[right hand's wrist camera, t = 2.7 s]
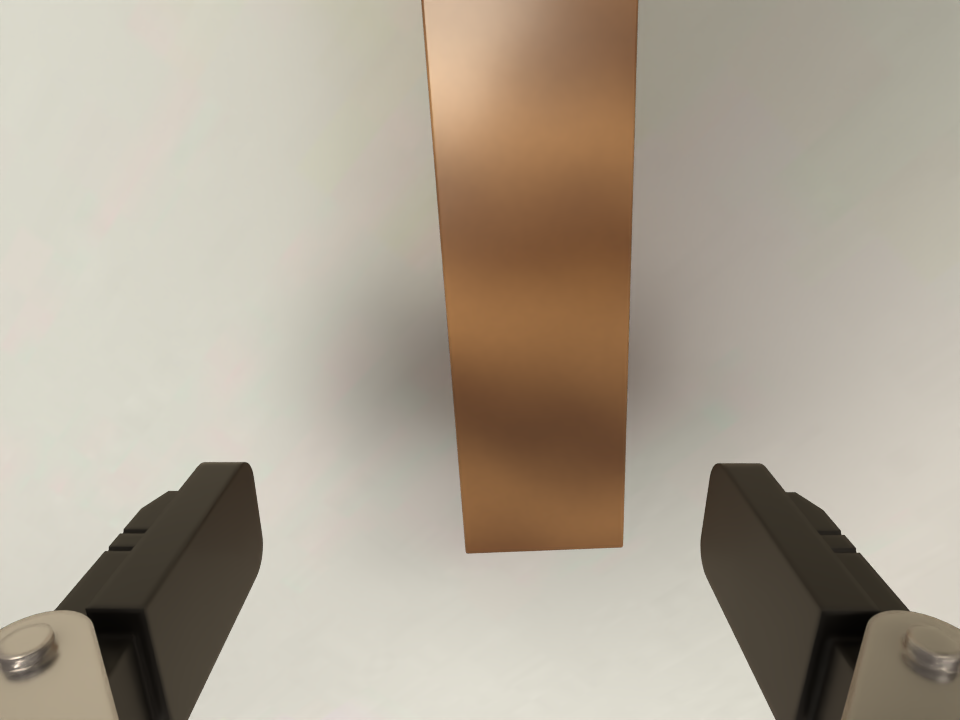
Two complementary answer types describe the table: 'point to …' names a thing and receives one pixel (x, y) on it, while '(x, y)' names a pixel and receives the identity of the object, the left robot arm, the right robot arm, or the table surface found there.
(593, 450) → the beam
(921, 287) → the table surface
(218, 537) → the right robot arm
